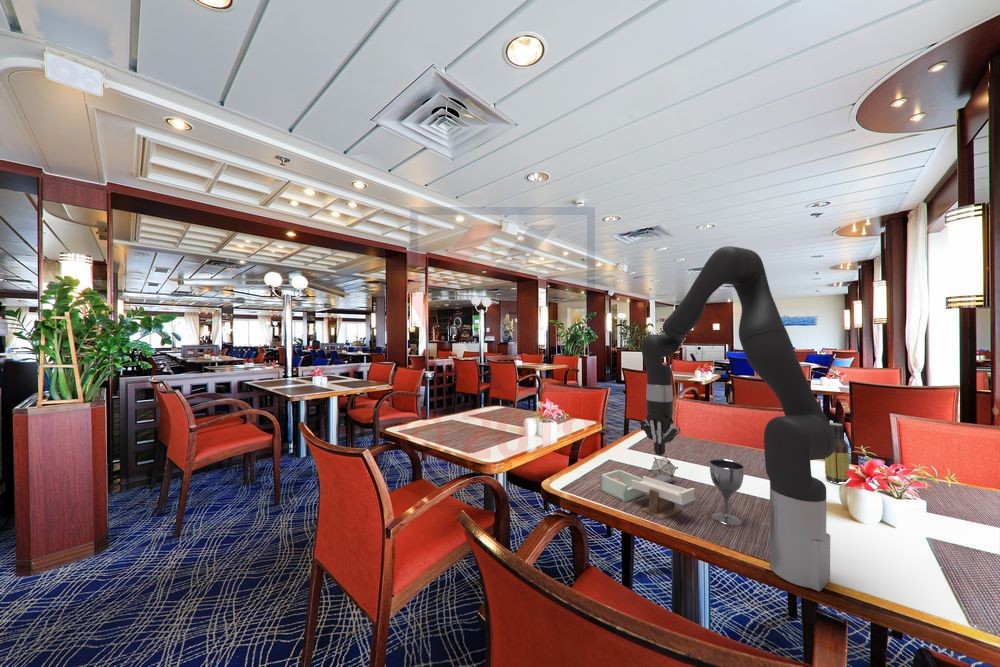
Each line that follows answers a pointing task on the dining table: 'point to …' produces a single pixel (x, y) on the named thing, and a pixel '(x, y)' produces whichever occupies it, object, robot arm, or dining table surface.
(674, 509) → the fulcrum
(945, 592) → the dining table surface
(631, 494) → the tray
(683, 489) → the lever
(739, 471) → the wine glass
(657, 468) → the grey geometric polyhedron
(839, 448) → the sauce bottle
